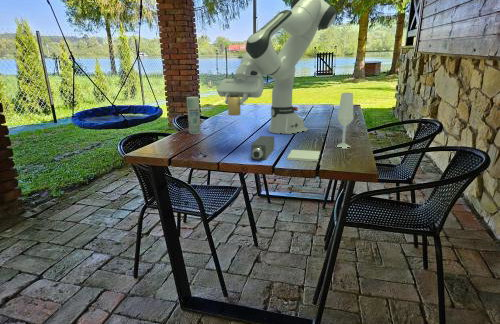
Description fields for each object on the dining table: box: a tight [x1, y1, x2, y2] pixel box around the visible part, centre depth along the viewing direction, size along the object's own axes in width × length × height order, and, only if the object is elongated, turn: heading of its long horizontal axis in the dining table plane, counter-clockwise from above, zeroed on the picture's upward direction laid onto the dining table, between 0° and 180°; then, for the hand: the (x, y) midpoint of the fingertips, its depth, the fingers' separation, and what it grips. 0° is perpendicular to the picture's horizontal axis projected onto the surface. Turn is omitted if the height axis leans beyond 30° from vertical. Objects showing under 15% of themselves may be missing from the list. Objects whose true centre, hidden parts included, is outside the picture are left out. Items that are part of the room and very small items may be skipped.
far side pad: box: [286, 149, 321, 163], centre depth 127 cm, size 12×12×1 cm
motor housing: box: [250, 135, 275, 161], centre depth 130 cm, size 22×6×6 cm, turn 164°
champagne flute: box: [336, 92, 354, 149], centre depth 138 cm, size 7×7×24 cm
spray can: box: [186, 96, 201, 135], centre depth 171 cm, size 6×6×20 cm
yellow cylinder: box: [227, 95, 241, 116], centre depth 127 cm, size 5×5×8 cm
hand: (233, 103), depth 126 cm, fingers closed on yellow cylinder, 5 cm apart
